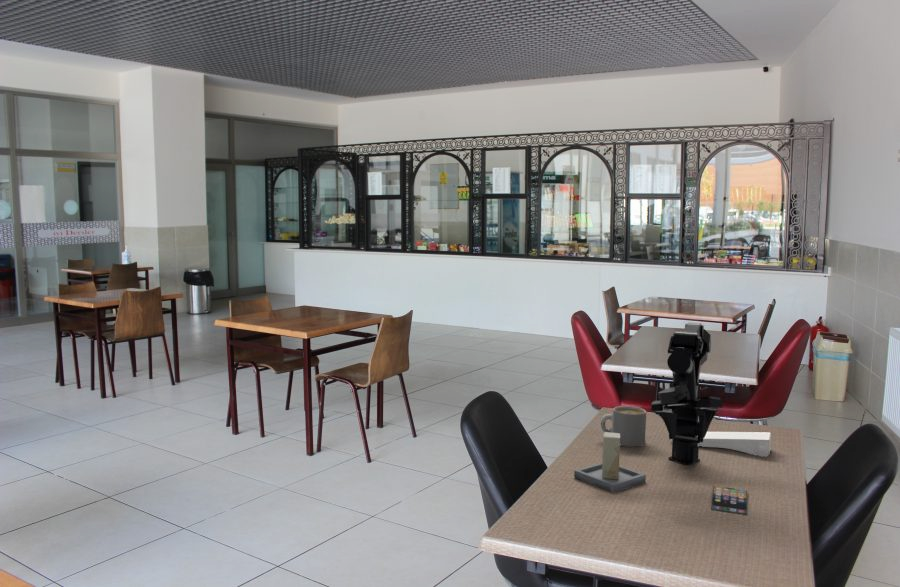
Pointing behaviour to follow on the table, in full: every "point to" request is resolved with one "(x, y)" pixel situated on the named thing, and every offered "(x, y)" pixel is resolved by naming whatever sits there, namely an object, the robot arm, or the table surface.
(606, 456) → the box
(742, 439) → the wall bracket
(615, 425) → the coffee mug
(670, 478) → the table surface
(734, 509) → the smartphone
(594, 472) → the tray
